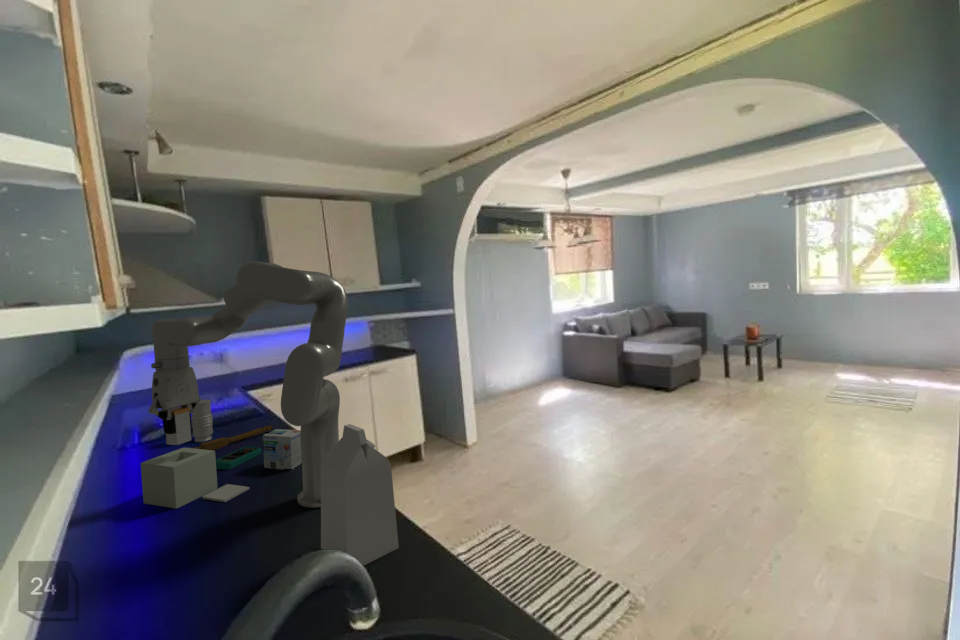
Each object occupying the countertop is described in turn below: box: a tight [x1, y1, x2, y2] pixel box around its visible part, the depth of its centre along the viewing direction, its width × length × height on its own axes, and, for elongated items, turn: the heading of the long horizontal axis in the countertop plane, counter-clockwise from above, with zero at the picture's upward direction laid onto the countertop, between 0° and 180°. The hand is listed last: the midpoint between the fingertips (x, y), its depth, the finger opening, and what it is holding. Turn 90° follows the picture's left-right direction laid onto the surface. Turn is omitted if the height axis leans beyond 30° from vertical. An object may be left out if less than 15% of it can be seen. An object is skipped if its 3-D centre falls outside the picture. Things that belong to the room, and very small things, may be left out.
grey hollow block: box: [140, 447, 219, 510], centre depth 119 cm, size 12×12×11 cm
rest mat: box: [201, 483, 250, 503], centre depth 119 cm, size 8×8×1 cm
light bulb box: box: [262, 428, 302, 470], centre depth 138 cm, size 11×7×11 cm, turn 76°
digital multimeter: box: [216, 445, 263, 471], centre depth 144 cm, size 7×15×3 cm, turn 166°
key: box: [165, 406, 192, 446], centre depth 118 cm, size 4×4×9 cm
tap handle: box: [192, 424, 273, 451], centre depth 163 cm, size 3×3×30 cm
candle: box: [191, 398, 214, 443], centre depth 168 cm, size 7×7×15 cm
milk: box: [320, 424, 400, 566], centre depth 90 cm, size 12×12×26 cm
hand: (178, 430), depth 118 cm, fingers closed on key, 4 cm apart
